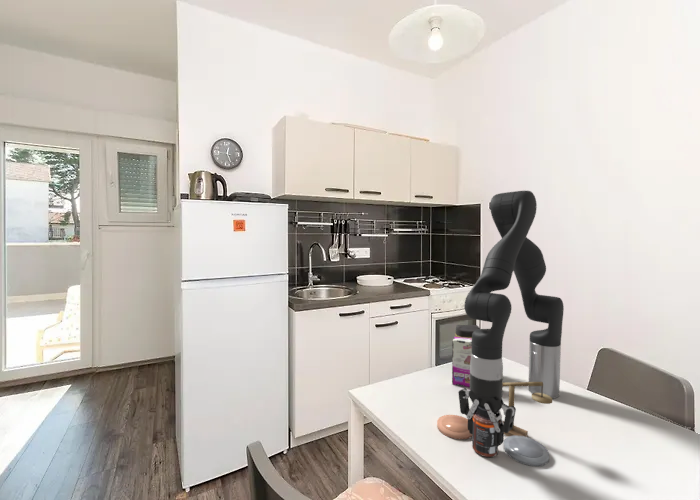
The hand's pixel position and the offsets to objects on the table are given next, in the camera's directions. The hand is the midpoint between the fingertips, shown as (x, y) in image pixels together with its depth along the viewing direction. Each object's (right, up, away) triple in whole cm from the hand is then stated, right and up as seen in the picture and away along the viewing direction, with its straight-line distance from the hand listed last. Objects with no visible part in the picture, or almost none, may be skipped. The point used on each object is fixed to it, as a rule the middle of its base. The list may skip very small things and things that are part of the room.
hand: (484, 438), depth 84 cm
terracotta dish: (-4, -3, +10) cm, 11 cm away
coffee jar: (+13, -1, +48) cm, 50 cm away
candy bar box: (+9, -2, +37) cm, 38 cm away
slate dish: (+10, -3, -1) cm, 10 cm away
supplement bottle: (0, -3, 0) cm, 3 cm away
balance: (+10, -3, +8) cm, 13 cm away
